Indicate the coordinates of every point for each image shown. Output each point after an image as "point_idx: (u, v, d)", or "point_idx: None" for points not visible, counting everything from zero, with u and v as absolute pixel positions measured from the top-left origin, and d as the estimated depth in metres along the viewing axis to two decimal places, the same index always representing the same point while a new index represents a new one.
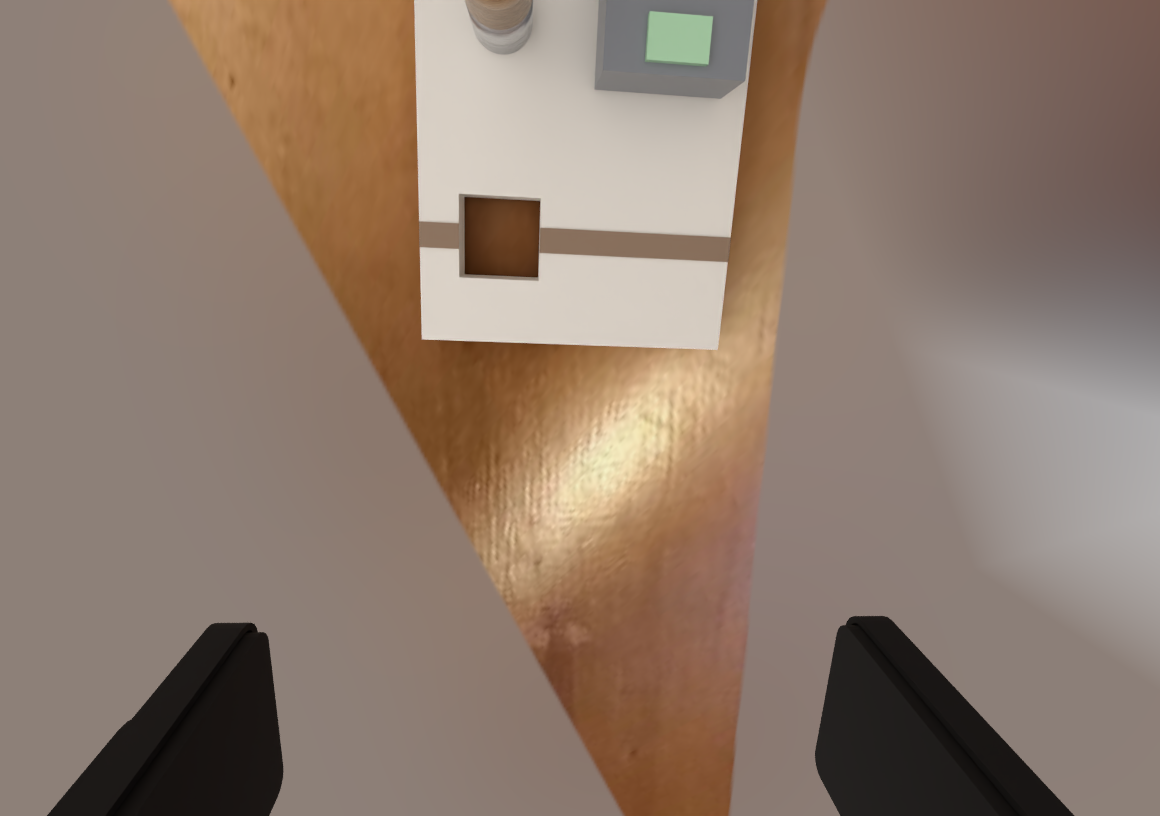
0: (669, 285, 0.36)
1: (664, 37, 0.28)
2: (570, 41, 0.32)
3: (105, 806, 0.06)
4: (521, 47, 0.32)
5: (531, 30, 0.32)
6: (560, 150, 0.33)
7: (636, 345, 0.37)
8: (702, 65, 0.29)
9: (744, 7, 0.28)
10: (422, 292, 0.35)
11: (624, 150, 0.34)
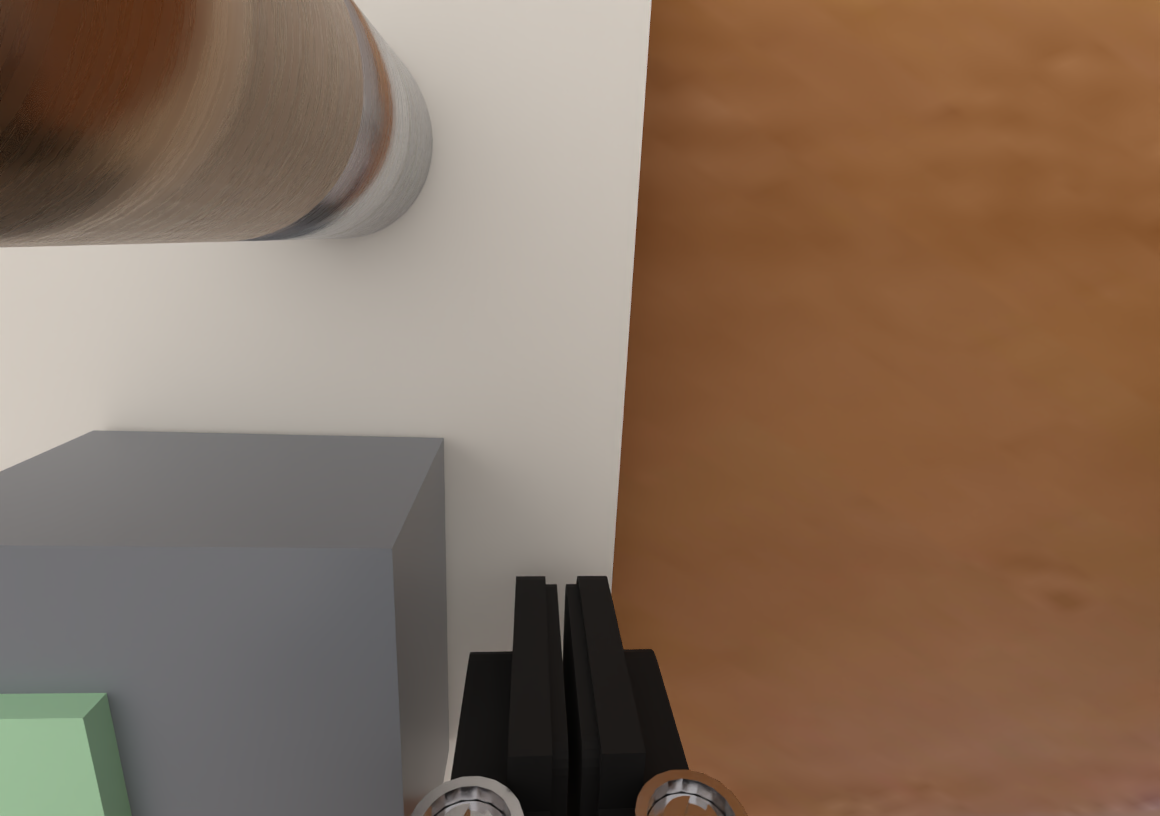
0: None
1: (1, 774, 0.07)
2: (301, 357, 0.11)
3: (544, 703, 0.08)
4: None
5: None
6: None
7: None
8: None
9: None
10: None
11: None
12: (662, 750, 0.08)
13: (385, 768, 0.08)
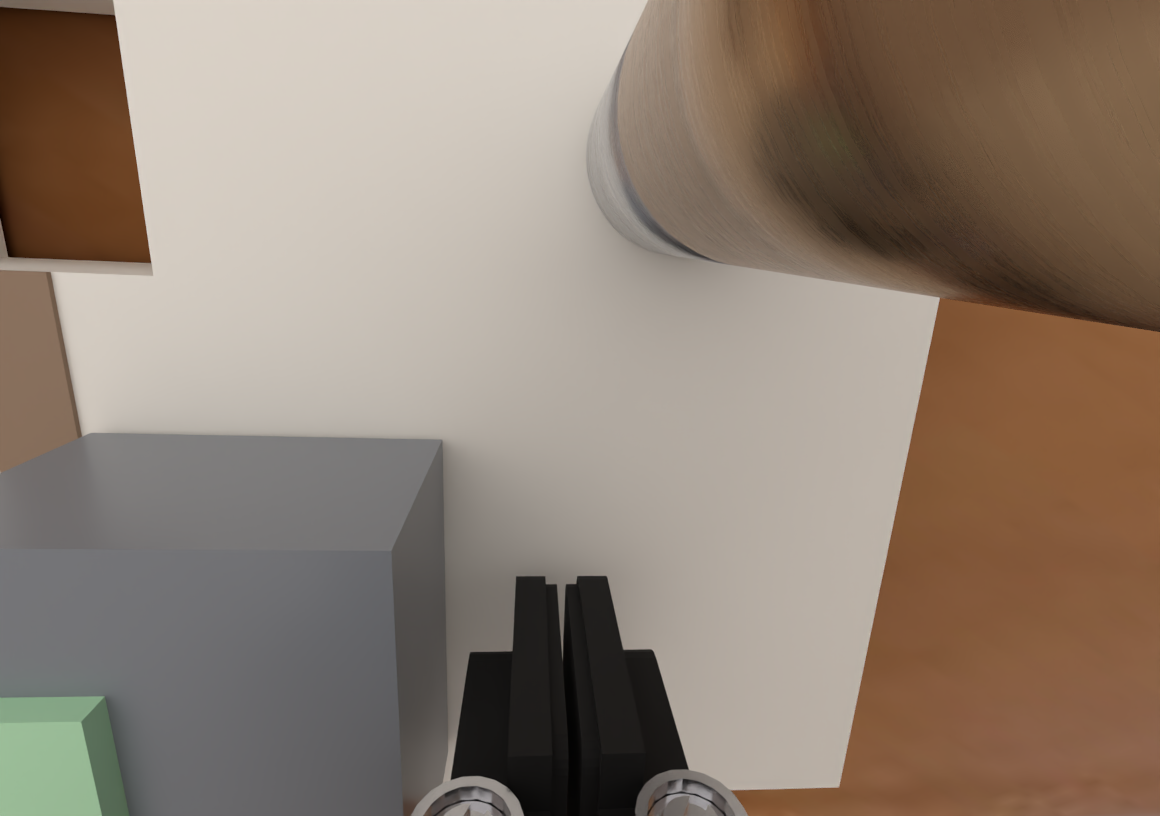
0: None
1: None
2: (623, 369, 0.11)
3: (544, 703, 0.08)
4: (606, 217, 0.10)
5: (651, 251, 0.10)
6: (316, 340, 0.10)
7: None
8: None
9: None
10: None
11: None
12: (662, 750, 0.08)
13: (384, 771, 0.08)
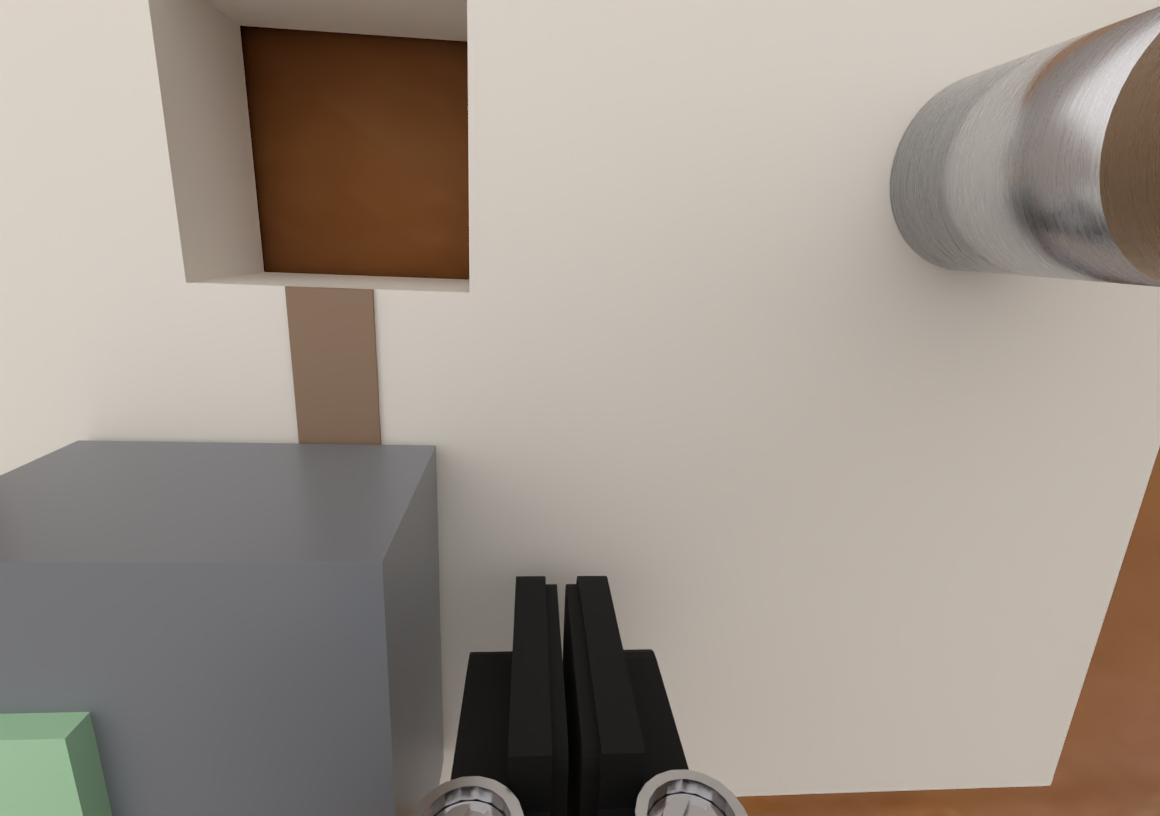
0: None
1: None
2: (899, 380, 0.11)
3: (544, 703, 0.08)
4: (903, 234, 0.10)
5: (947, 266, 0.10)
6: (614, 353, 0.11)
7: None
8: None
9: None
10: None
11: (614, 536, 0.12)
12: (662, 750, 0.08)
13: (377, 785, 0.08)
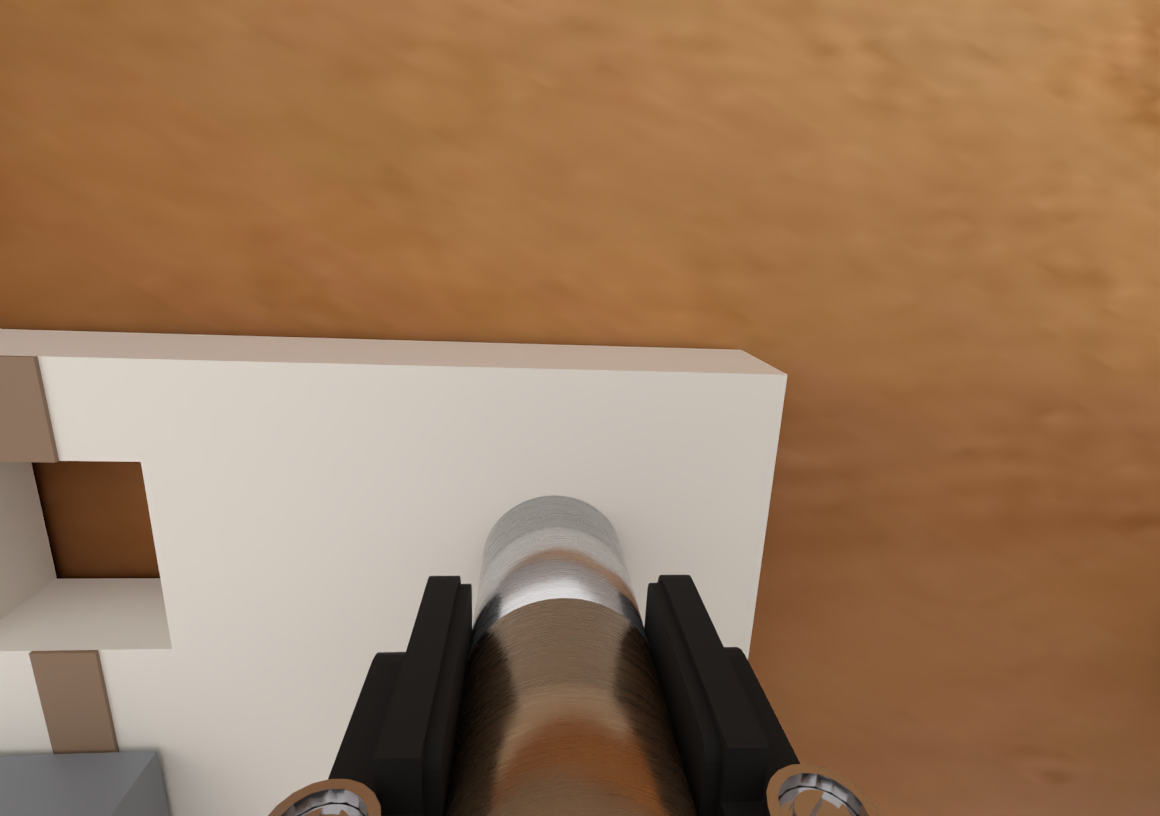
0: None
1: None
2: None
3: (425, 704, 0.07)
4: None
5: None
6: (290, 682, 0.14)
7: None
8: None
9: None
10: None
11: None
12: (770, 746, 0.08)
13: None
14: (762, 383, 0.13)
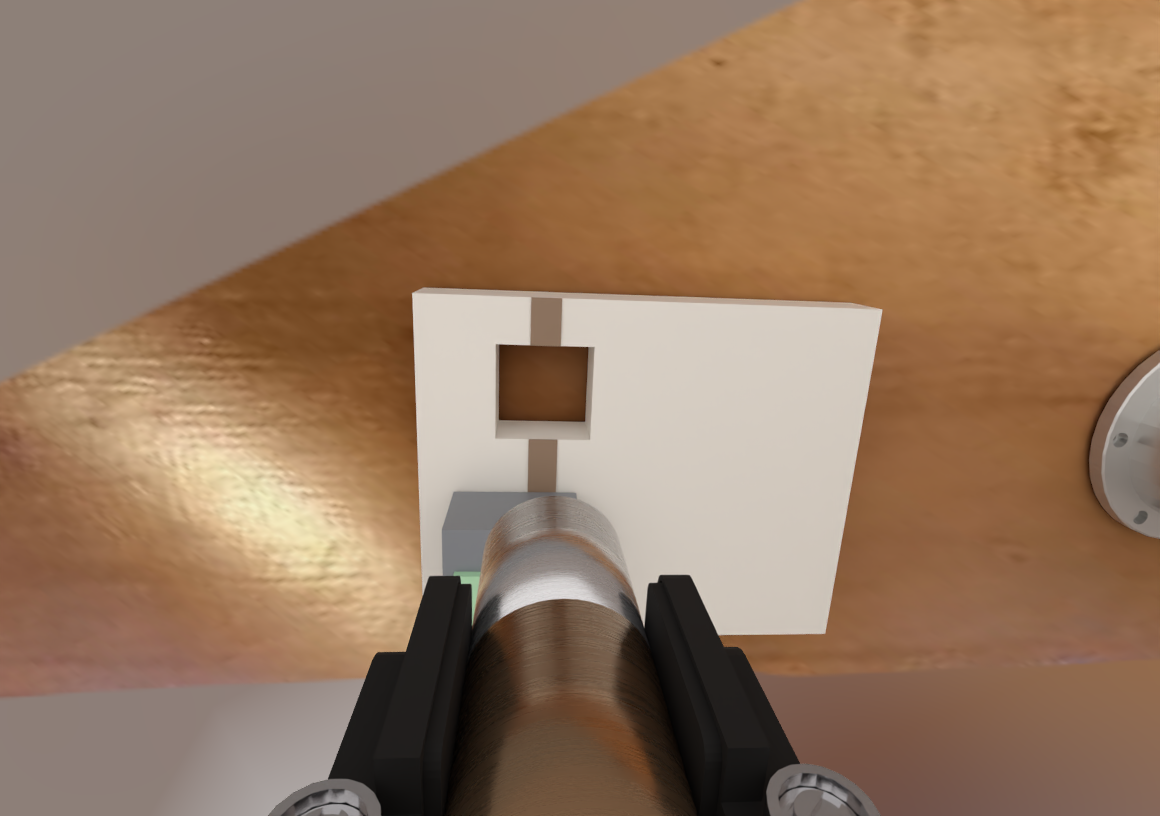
0: None
1: (476, 592, 0.26)
2: (745, 467, 0.30)
3: (425, 704, 0.07)
4: None
5: None
6: (640, 459, 0.30)
7: (422, 551, 0.30)
8: None
9: None
10: (474, 297, 0.27)
11: (639, 525, 0.31)
12: (771, 745, 0.08)
13: None
14: (871, 313, 0.29)
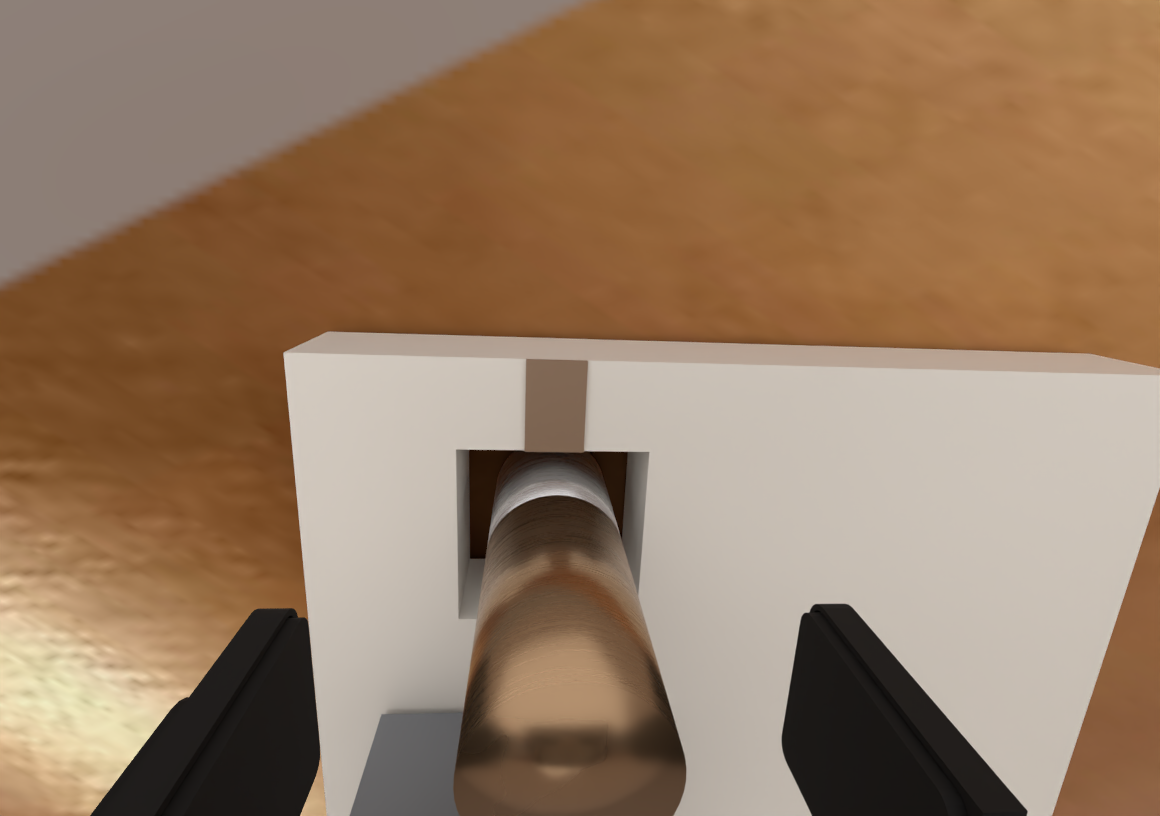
0: None
1: None
2: (915, 656, 0.17)
3: (174, 774, 0.06)
4: None
5: None
6: (727, 648, 0.16)
7: (329, 810, 0.17)
8: None
9: None
10: (411, 360, 0.13)
11: (721, 755, 0.17)
12: None
13: None
14: None
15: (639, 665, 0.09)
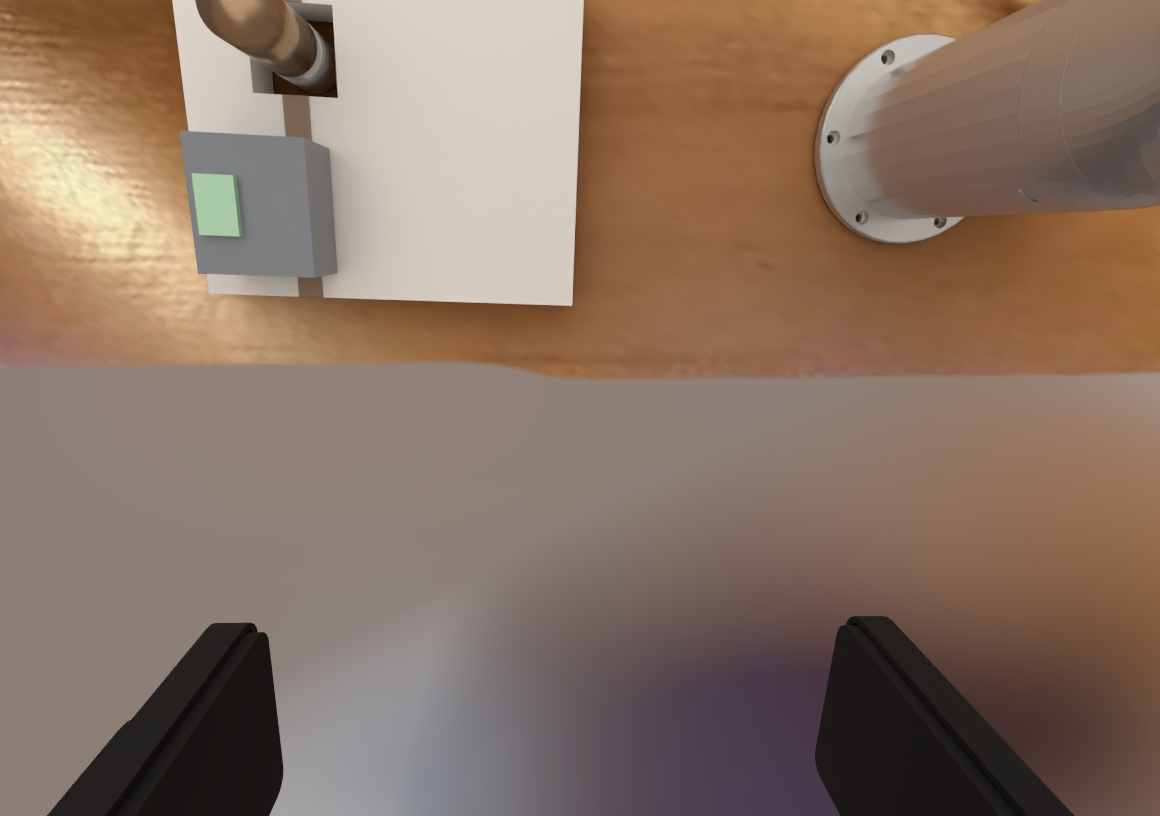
0: None
1: (213, 190, 0.31)
2: (480, 131, 0.35)
3: (105, 806, 0.06)
4: None
5: (305, 91, 0.36)
6: (384, 119, 0.35)
7: None
8: (201, 230, 0.31)
9: (257, 267, 0.32)
10: None
11: (391, 186, 0.36)
12: None
13: (304, 204, 0.32)
14: None
15: None
